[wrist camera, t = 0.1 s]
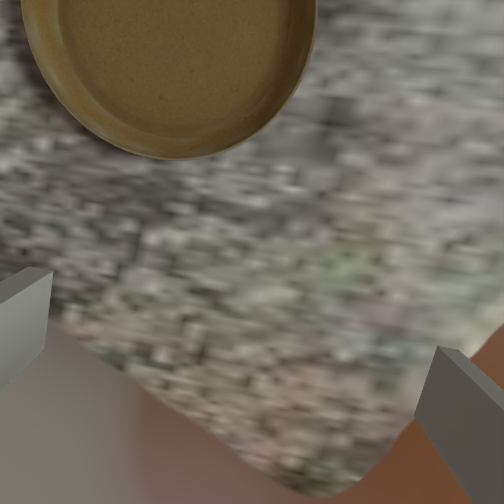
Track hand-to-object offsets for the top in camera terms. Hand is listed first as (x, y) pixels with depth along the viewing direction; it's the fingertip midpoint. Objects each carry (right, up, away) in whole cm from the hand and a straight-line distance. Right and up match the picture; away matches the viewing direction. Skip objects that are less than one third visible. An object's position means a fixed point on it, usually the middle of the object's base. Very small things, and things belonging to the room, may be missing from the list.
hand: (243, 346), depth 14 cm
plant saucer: (-6, +24, +24) cm, 34 cm away
